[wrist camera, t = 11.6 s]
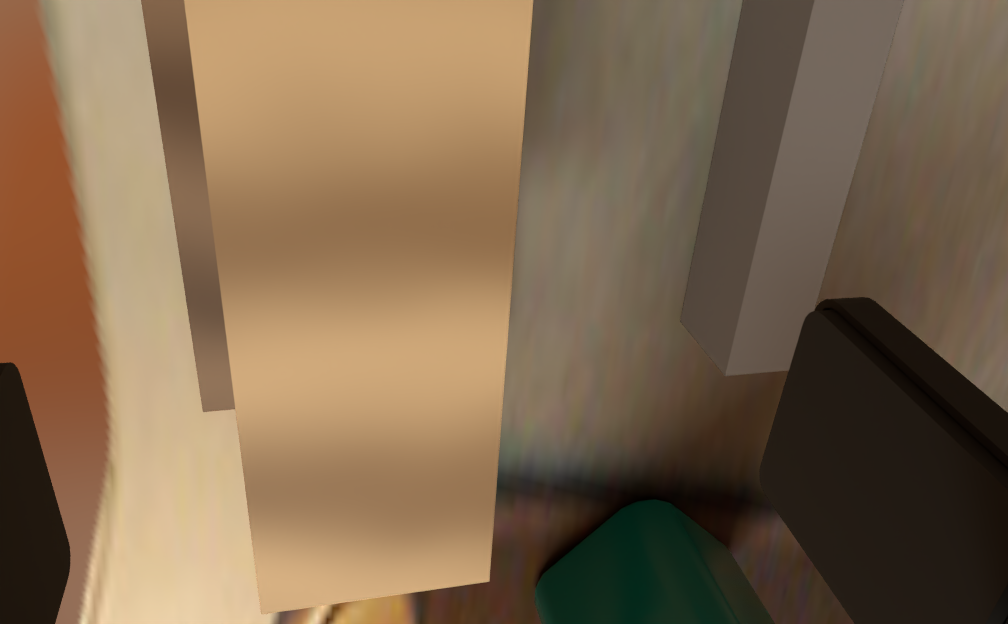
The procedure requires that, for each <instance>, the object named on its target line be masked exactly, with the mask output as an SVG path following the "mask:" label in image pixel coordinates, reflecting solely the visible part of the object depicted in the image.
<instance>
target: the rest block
mask: <svg viewBox="0 0 1008 624" xmlns="http://www.w3.org/2000/svg"><path fill="white" fill-rule="evenodd" d="M903 3H904V0H743V5H742V10H741V15H740V20H739V26H738V31H737V36H736V41H735V46H734V51H733V56H732V61H731V66H730V71H729V76H728V81H727V86H726V91H725V97H724V102H723V107H722V112H721V117H720V122H719V127H718V132H717V137H716V142H715V147H714V152H713V157H712V162H711V168H710V173H709V178H708V183H707V188H706V193H705V198H704V203H703V208H702V213H701V218H700V223H699V228H698V233H697V239H696V244H695V249H694V254H693V259H692V264H691V269H690V274H689V279H688V284H687V289H686V294H685V299H684V304H683V310H682V315H681V320H680V322H681V323H682V324H683V325H684V327H685V328H686V329H687V330H688V332H689V333H690V334H691V335H692V336H693V338H694V339H695V340H696V341H697V343H698V344H699V345H700V346H701V347H702V349H703V350H704V351H705V352H706V354H707V355H708V356H709V357H710V358H711V360H712V361H713V362H714V363H715V365H716V366H717V367H718V368H719V369H720V371H721V372H722V373H723V374H724V376H733V375H744V374H755V373H766V372H777V371H788V370H789V368H790V365H791V362H792V358H793V355H794V352H795V348H796V345H797V342H798V338H799V335H800V332H801V328H802V325H803V322H804V320H805V317H806V316H807V315H808V314H809V313H810V312H813V311H814V310H815V306H816V303H817V299H818V296H819V292H820V289H821V285H822V282H823V279H824V275H825V272H826V268H827V265H828V261H829V258H830V254H831V251H832V247H833V244H834V241H835V237H836V234H837V230H838V227H839V223H840V220H841V216H842V213H843V210H844V206H845V203H846V199H847V196H848V192H849V189H850V185H851V182H852V178H853V175H854V172H855V168H856V165H857V161H858V158H859V154H860V151H861V147H862V144H863V141H864V137H865V134H866V130H867V127H868V123H869V120H870V116H871V113H872V109H873V106H874V103H875V99H876V96H877V92H878V89H879V85H880V82H881V78H882V75H883V72H884V68H885V65H886V61H887V58H888V54H889V51H890V47H891V44H892V40H893V37H894V34H895V30H896V27H897V23H898V20H899V16H900V13H901V9H902V6H903Z"/></svg>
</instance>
